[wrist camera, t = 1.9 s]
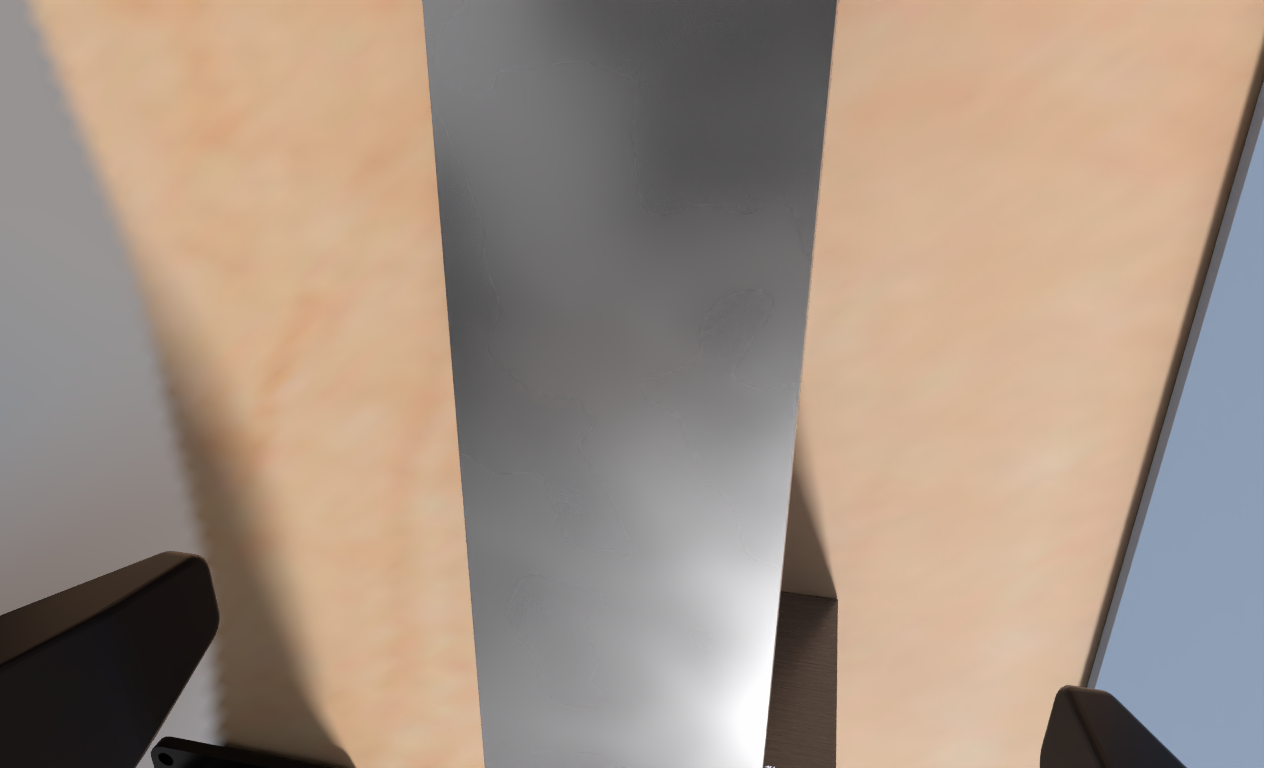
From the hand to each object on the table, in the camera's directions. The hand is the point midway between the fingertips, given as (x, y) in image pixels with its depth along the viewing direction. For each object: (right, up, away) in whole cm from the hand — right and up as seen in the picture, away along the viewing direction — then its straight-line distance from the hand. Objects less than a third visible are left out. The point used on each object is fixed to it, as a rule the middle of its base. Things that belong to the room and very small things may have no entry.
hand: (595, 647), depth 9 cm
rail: (+1, +2, +4) cm, 5 cm away
